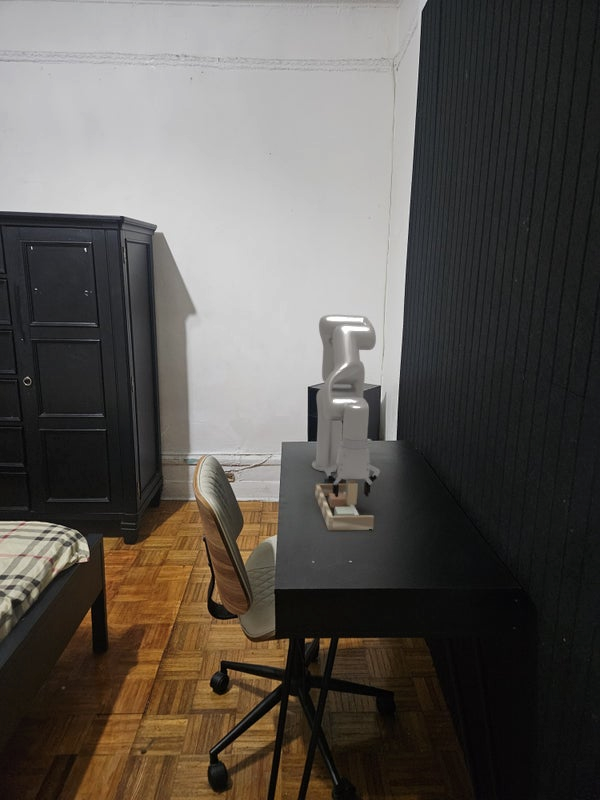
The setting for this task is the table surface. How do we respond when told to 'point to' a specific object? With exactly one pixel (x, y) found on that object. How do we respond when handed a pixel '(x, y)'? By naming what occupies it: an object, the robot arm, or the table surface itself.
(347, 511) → the pale green square block
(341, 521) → the box
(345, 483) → the phone
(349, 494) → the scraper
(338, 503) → the terracotta tile
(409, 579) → the table surface
